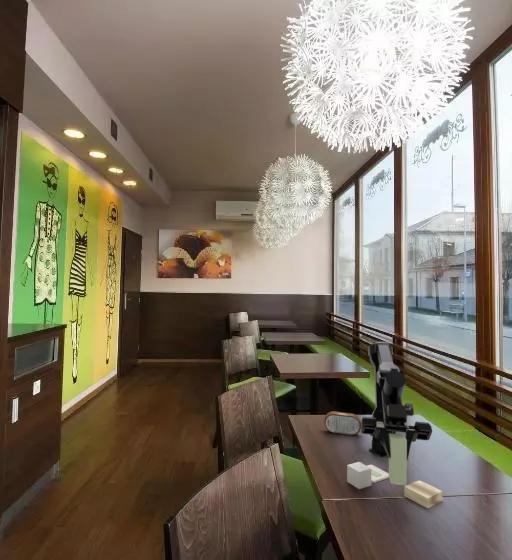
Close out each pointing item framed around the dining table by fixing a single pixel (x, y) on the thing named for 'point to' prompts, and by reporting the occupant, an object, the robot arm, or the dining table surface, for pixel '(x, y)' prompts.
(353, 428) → the tin
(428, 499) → the maple base
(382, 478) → the card
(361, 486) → the grey cube
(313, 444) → the dining table surface
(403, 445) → the sage block
